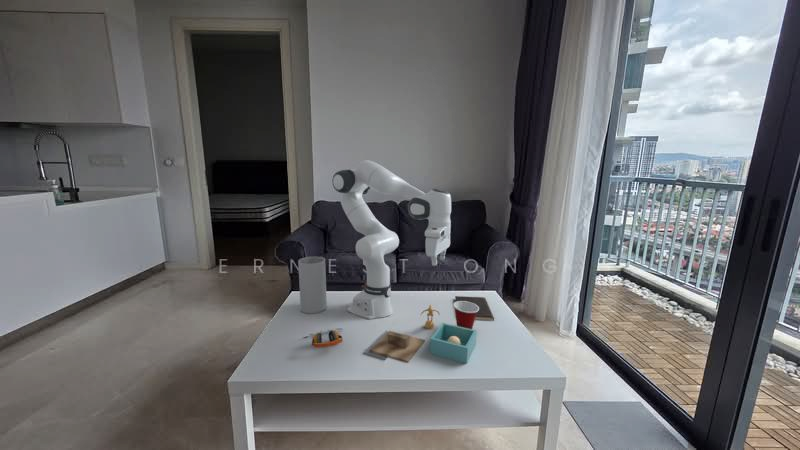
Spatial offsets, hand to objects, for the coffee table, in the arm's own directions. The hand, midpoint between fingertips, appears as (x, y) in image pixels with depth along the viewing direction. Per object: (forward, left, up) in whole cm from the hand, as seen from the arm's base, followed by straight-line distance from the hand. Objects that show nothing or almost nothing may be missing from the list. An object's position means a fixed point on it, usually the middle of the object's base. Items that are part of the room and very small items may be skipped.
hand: (438, 262), depth 133 cm
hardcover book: (+9, +30, -32) cm, 45 cm away
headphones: (-37, -28, -32) cm, 56 cm away
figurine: (-3, 0, -31) cm, 31 cm away
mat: (-9, -19, -31) cm, 38 cm away
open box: (+11, -11, -31) cm, 35 cm away
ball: (+11, -11, -30) cm, 34 cm away
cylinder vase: (-62, -6, -31) cm, 70 cm away
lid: (-9, -19, -30) cm, 37 cm away
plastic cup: (+11, +6, -31) cm, 34 cm away
